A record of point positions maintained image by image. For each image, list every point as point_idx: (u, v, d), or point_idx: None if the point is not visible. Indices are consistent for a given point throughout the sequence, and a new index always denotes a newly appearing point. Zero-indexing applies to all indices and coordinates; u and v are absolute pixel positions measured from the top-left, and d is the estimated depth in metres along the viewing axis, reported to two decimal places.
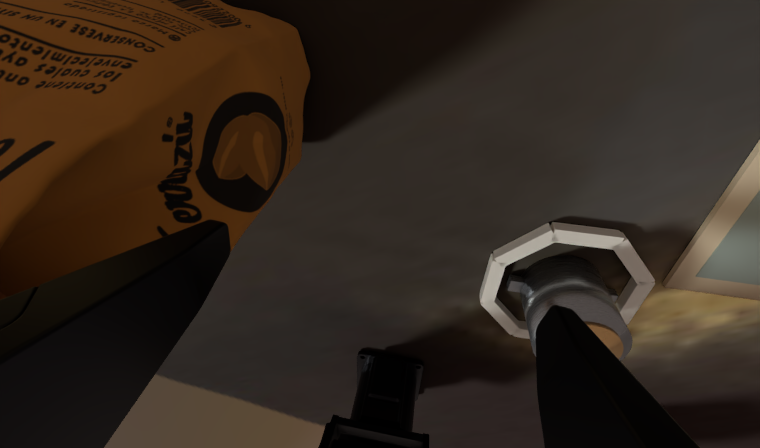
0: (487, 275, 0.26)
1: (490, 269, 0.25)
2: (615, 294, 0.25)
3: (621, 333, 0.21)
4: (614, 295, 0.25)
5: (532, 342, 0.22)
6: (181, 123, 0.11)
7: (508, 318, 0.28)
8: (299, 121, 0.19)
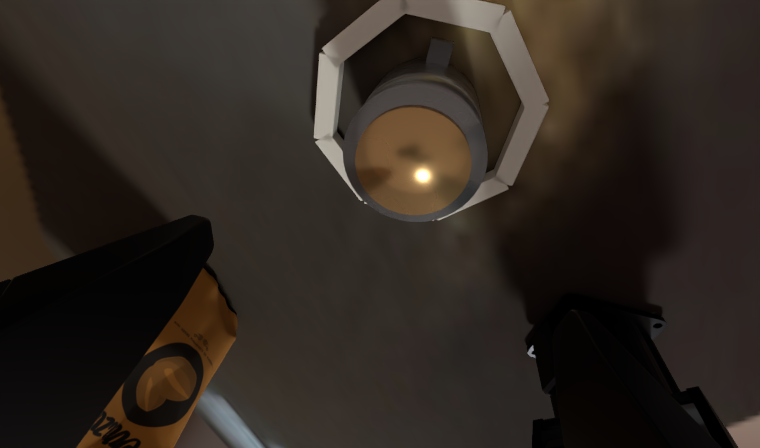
0: None
1: None
2: (430, 42, 0.15)
3: (380, 108, 0.13)
4: (430, 44, 0.15)
5: (409, 220, 0.15)
6: None
7: None
8: (214, 323, 0.27)
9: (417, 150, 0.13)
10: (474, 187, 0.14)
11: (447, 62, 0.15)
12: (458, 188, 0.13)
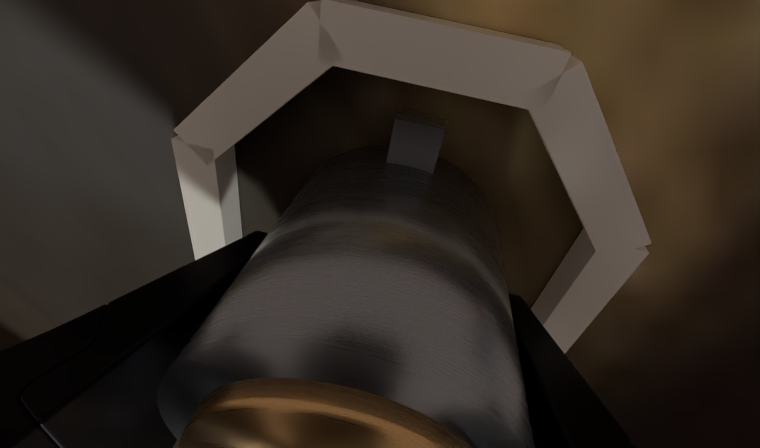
0: None
1: None
2: None
3: (223, 373, 0.04)
4: (393, 130, 0.07)
5: None
6: None
7: None
8: None
9: None
10: None
11: (432, 165, 0.07)
12: None
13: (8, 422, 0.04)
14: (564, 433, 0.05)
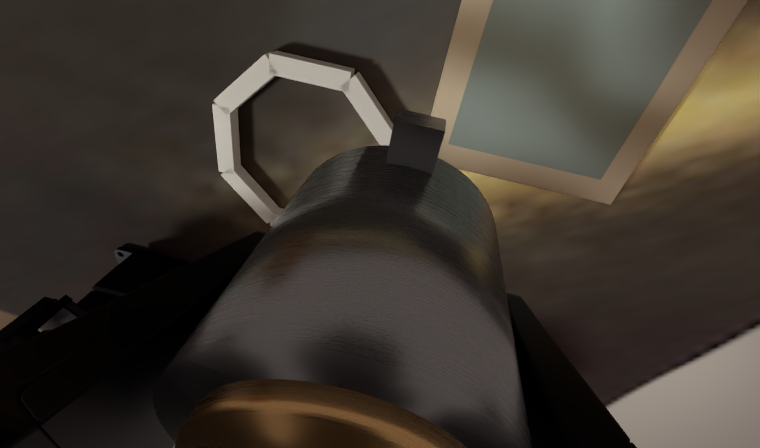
0: (217, 130, 0.20)
1: (214, 118, 0.20)
2: (393, 124, 0.07)
3: (220, 374, 0.04)
4: (392, 130, 0.07)
5: None
6: None
7: (256, 197, 0.22)
8: None
9: None
10: None
11: (432, 166, 0.07)
12: None
13: (8, 422, 0.04)
14: (564, 433, 0.05)
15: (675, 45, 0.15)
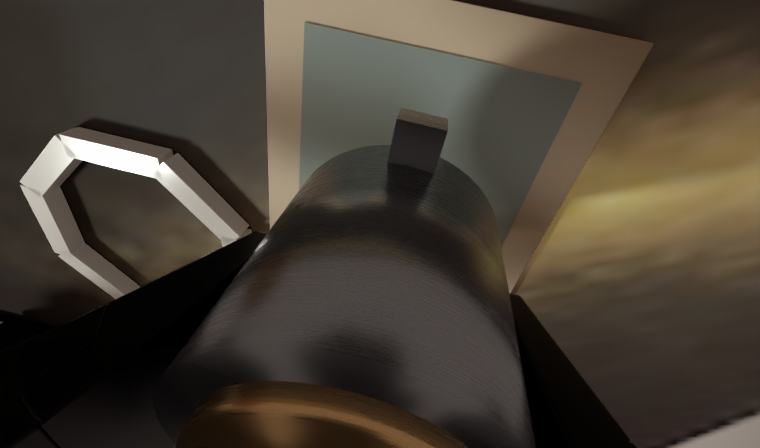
0: None
1: (28, 199, 0.17)
2: None
3: (221, 376, 0.04)
4: (394, 130, 0.07)
5: None
6: None
7: (104, 280, 0.19)
8: None
9: None
10: None
11: (434, 165, 0.07)
12: None
13: (9, 422, 0.04)
14: (564, 433, 0.05)
15: (542, 140, 0.11)
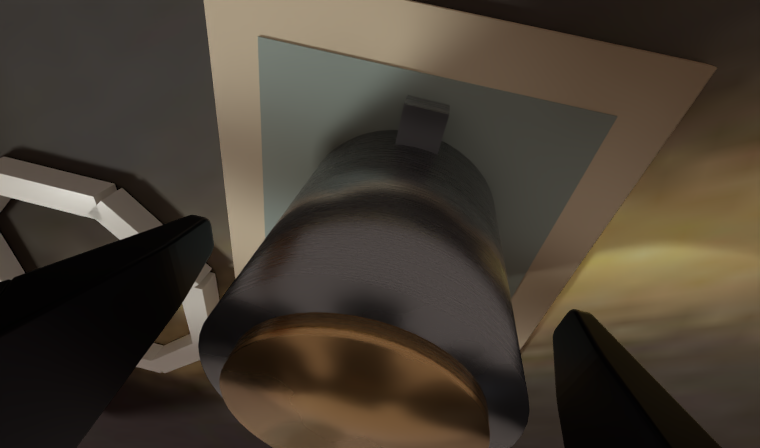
0: None
1: None
2: None
3: (261, 310, 0.05)
4: (402, 114, 0.08)
5: None
6: None
7: None
8: None
9: (357, 403, 0.05)
10: None
11: (437, 146, 0.08)
12: None
13: None
14: None
15: (563, 184, 0.09)
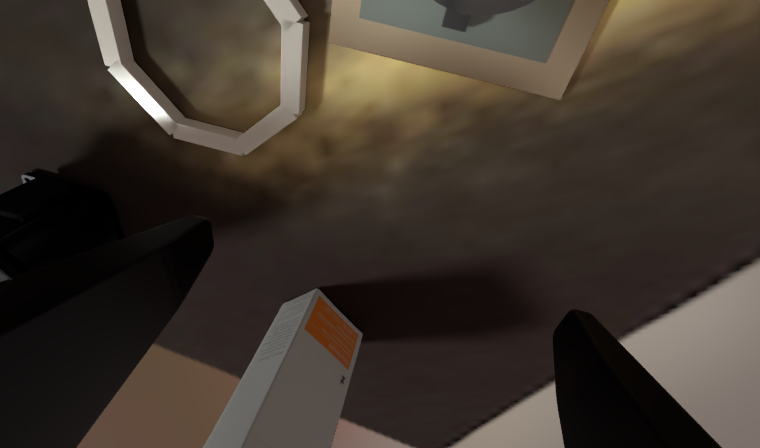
0: (94, 8, 0.17)
1: None
2: None
3: None
4: None
5: (478, 14, 0.10)
6: None
7: (152, 99, 0.19)
8: None
9: None
10: None
11: None
12: None
13: None
14: None
15: None
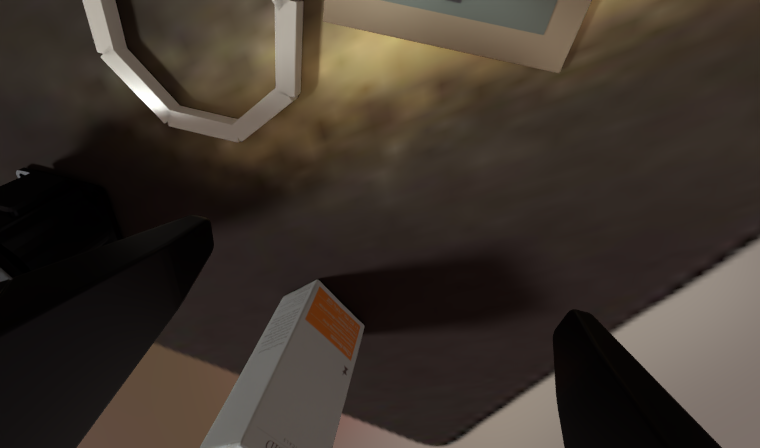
0: None
1: None
2: None
3: None
4: None
5: None
6: None
7: (146, 86, 0.19)
8: None
9: None
10: None
11: None
12: None
13: None
14: None
15: None
